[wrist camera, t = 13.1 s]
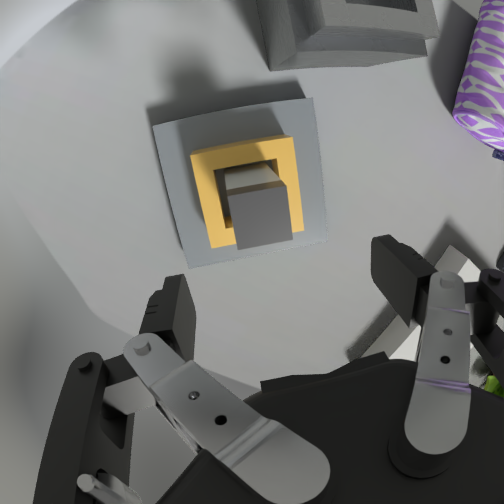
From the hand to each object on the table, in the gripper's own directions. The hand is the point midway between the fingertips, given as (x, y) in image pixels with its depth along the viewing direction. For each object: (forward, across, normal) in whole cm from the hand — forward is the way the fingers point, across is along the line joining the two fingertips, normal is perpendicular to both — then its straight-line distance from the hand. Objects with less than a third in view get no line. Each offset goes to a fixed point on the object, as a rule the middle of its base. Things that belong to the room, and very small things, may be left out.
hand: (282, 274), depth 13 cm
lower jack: (+18, 0, 0) cm, 18 cm away
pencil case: (+19, -31, -12) cm, 38 cm away
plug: (+16, 0, 0) cm, 16 cm away
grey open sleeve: (+18, -9, -15) cm, 25 cm away
